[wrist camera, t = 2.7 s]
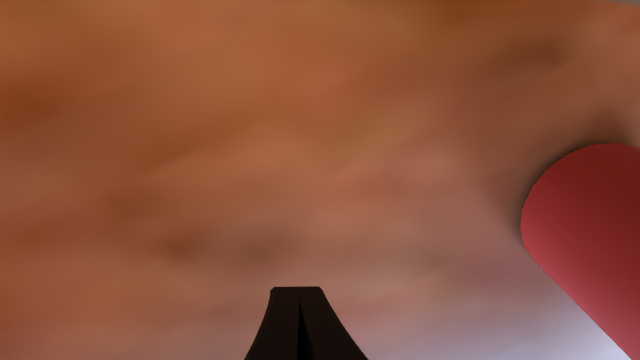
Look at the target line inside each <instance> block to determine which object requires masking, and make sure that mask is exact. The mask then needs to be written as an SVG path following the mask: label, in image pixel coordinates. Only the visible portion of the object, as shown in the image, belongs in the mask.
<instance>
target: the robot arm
mask: <svg viewBox="0 0 640 360" xmlns="http://www.w3.org/2000/svg"><path fill="white" fill-rule="evenodd" d="M244 360H368V359H367V357H366V356H365V355H364V354H363V352H362V351H361V350H360V349H359V347H358V346H357V345H356V343H355V342H354V341H353V339H352V338H351V336H350V335H349V333H348V332H347V331H346V329H345V328H344V326H343V325H342V323H341V322H340V320H339V319H338V317H337V315H336V314H335V312H334V311H333V309H332V307H331V306H330V304H329V302H328V300H327V298H326V296H325V294H324V292H323V290H322V289H321V288H320V287H274V288H273V289H272V290H270V298H269V303H268V306H267V310H266V313H265V316H264V318H263V321H262V323H261V326H260V328H259V330H258V333H257V335H256V338H255V340H254V342H253V344H252V346H251V348H250V350H249V351H248V353H247V355H246V357H245V359H244Z"/></svg>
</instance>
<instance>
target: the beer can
mask: <svg viewBox="0 0 640 360" xmlns="http://www.w3.org/2000/svg"><path fill="white" fill-rule="evenodd" d="M520 229H521V234H522V238H523V243H524V247H525V248H526V250H527V251H528V253H529V254H530V255H531V257H532V258H533V259H534V261H535V262H536V263H537V264H538V265H539V266H540V267H541V268H542V269H543V270H544V271H545V272H546V273H547V274H548V275H549V276H550V277H551V278H552V279H553V280H554V281H555V282H556V283H557V284H558V285H559V286H560V287H561V288H562V289H563V290H564V291H565V292H566V293H567V294H568V295H569V296H570V297H571V298H572V299H573V300H574V301H575V302H576V304H577V305H578V306H579V307H580V308H581V309H582V310H583V311H584V312H585V313H586V314H587V315H588V316H589V317H590V318H591V319H592V320H593V321H594V322H595V323H596V324H597V325H598V326H599V327H600V328H601V329H602V330H603V331H604V332H605V333H606V334H607V335H608V336H609V337H610V338H611V339H612V340H613V341H614V342H615V343H616V344H617V345H618V346H619V347H620V348H621V349H622V350H623V351H624V352H625V353H626V354H627V355H628V356H629V357H630V358H631V359H632V360H640V149H639V148H636V147H632V146H628V145H624V144H620V143H607V144H595V145H589V146H587V147H584V148H582V149H579V150H576V151H574V152H571V153H569V154H567V155H566V156H564V157H563V158H561V159H560V160H559V161H557V162H556V163H554V164H553V165H552V166H550V167H549V168H548V169H547V170H546V171H545V172H544V173H543V174H542V176H541V177H540V178H539V179H538V180H537V181H536V183H535V184H534V185H533V186H532V188H531V190H530V192H529V195H528V197H527V199H526V201H525V203H524V205H523V209H522V216H521V223H520Z"/></svg>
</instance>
